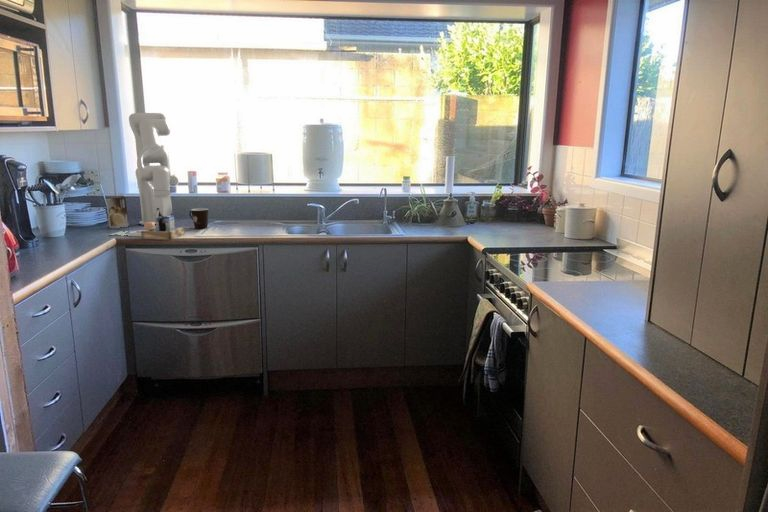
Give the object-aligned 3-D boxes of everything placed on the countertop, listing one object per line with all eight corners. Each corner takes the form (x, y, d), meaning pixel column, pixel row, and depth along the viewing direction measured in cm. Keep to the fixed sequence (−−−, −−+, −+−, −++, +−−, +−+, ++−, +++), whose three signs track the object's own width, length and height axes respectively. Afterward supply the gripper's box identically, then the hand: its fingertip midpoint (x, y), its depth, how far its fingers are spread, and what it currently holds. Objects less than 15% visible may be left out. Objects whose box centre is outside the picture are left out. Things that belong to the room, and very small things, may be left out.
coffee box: (127, 225, 304) (124, 195, 301) (129, 227, 299) (126, 197, 295) (108, 226, 299) (105, 197, 296) (110, 228, 294) (107, 198, 290)
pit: (136, 233, 281) (136, 230, 280) (149, 234, 280) (149, 230, 280) (128, 236, 274) (128, 233, 274) (142, 237, 273) (141, 233, 273)
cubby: (156, 233, 282) (155, 226, 281) (184, 234, 280) (183, 227, 279) (141, 238, 269) (140, 231, 268) (171, 239, 267) (170, 232, 266)
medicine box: (155, 233, 276) (154, 216, 274) (160, 231, 281) (159, 214, 278) (170, 234, 275) (169, 216, 273) (175, 232, 279) (174, 215, 277)
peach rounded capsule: (148, 231, 288) (147, 221, 287) (157, 231, 288) (156, 221, 287) (142, 232, 284) (141, 223, 282) (152, 233, 283) (151, 223, 282)
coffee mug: (211, 228, 295) (210, 209, 293) (195, 230, 291) (193, 211, 288) (205, 225, 305) (203, 207, 302) (189, 226, 300) (187, 208, 298)
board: (120, 232, 286) (120, 231, 286) (137, 232, 284) (136, 231, 284) (108, 235, 276) (108, 235, 276) (125, 236, 275) (125, 235, 275)
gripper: (163, 190, 281) (166, 225, 286) (145, 195, 265) (149, 232, 270) (177, 190, 280) (180, 226, 285) (160, 195, 264) (163, 233, 269)
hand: (165, 229), depth 277 cm, fingers closed on medicine box, 4 cm apart
